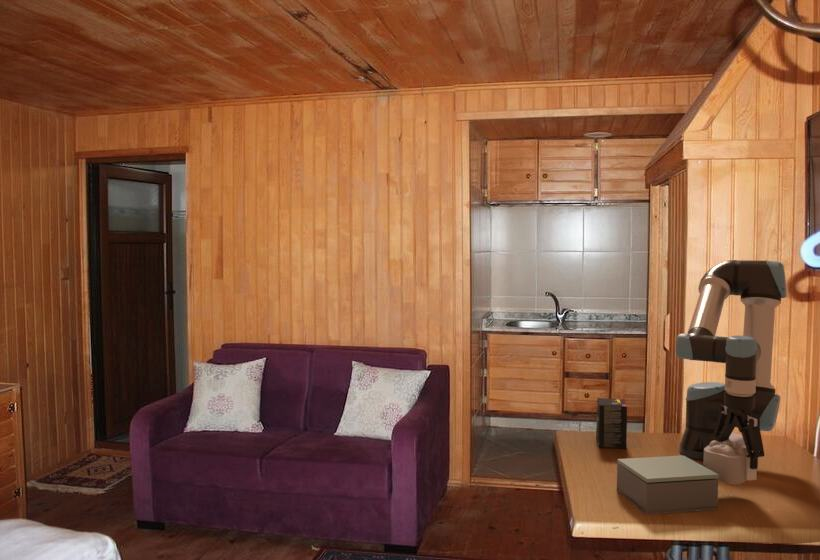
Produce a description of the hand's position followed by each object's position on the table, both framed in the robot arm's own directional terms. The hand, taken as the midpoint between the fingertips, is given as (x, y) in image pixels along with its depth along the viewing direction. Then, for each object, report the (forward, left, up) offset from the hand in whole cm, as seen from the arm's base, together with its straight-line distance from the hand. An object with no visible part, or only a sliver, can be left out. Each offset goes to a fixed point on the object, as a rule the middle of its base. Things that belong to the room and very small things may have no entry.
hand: (736, 471), depth 184 cm
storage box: (+21, 0, -6) cm, 22 cm away
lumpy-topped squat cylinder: (+3, 0, -1) cm, 3 cm away
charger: (-26, -38, -7) cm, 47 cm away
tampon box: (+13, -48, -7) cm, 50 cm away
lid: (+21, 0, +2) cm, 21 cm away
